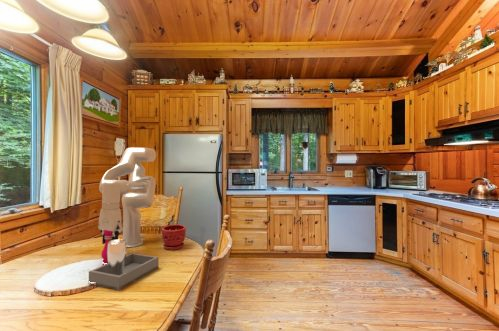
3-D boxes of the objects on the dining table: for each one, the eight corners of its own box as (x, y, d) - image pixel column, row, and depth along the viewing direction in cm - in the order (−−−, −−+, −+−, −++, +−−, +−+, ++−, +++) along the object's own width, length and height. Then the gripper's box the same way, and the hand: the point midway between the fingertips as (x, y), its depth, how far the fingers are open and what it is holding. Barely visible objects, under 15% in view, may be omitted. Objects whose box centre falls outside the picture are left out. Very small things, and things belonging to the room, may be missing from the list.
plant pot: (158, 247, 143) (158, 226, 143) (179, 242, 152) (179, 223, 152) (167, 253, 133) (167, 231, 133) (189, 248, 142) (189, 227, 142)
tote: (131, 263, 118) (132, 253, 118) (158, 267, 113) (158, 257, 114) (88, 284, 97) (88, 271, 97) (118, 290, 92) (119, 277, 92)
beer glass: (129, 274, 104) (130, 239, 104) (119, 282, 97) (119, 244, 97) (114, 273, 104) (114, 238, 105) (102, 281, 97) (103, 243, 98)
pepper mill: (110, 266, 114) (111, 223, 114) (97, 265, 116) (98, 222, 116) (121, 260, 121) (122, 220, 121) (109, 259, 123) (109, 219, 123)
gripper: (90, 206, 118) (90, 244, 118) (118, 208, 113) (117, 248, 112) (104, 204, 125) (103, 239, 125) (130, 206, 120) (130, 243, 119)
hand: (110, 243), depth 119 cm, fingers closed on pepper mill, 5 cm apart
